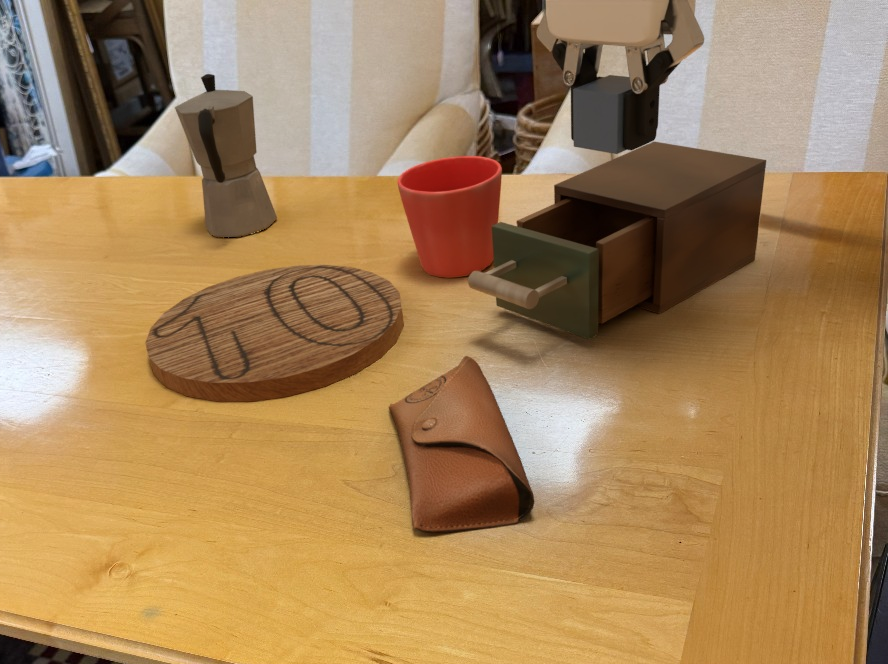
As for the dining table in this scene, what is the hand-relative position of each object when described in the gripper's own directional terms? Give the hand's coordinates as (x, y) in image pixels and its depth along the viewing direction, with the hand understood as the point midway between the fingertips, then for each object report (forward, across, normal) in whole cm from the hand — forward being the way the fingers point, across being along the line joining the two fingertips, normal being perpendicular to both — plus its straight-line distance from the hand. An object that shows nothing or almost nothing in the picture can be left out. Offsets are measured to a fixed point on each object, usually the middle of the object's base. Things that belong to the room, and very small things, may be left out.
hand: (613, 138), depth 69 cm
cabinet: (+17, +6, -14) cm, 23 cm away
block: (0, 0, 0) cm, 0 cm away
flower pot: (+17, +24, -4) cm, 30 cm away
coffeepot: (+17, +56, +3) cm, 59 cm away
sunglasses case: (+17, -3, +21) cm, 28 cm away
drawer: (+16, +6, -2) cm, 18 cm away
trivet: (+17, +26, +18) cm, 36 cm away
